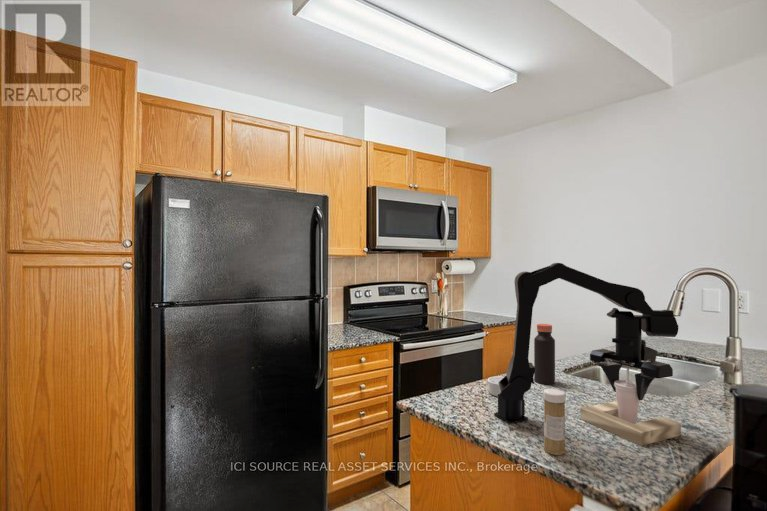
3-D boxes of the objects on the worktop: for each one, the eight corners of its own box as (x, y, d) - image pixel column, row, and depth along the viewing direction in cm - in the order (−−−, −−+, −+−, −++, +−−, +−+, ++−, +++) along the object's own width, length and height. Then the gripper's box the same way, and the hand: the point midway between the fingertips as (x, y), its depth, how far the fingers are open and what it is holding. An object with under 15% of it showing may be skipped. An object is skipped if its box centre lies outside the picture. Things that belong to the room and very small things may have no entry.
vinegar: (557, 385, 138) (557, 326, 138) (536, 384, 139) (536, 326, 139) (552, 379, 144) (552, 323, 144) (532, 378, 145) (532, 323, 146)
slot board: (641, 445, 93) (641, 432, 93) (580, 419, 108) (580, 408, 108) (680, 435, 98) (680, 423, 98) (617, 411, 114) (617, 400, 114)
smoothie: (609, 420, 104) (610, 366, 104) (617, 414, 108) (618, 362, 108) (638, 428, 99) (639, 372, 99) (645, 421, 104) (646, 367, 103)
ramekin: (486, 396, 126) (486, 382, 126) (488, 388, 135) (488, 375, 135) (516, 399, 124) (516, 385, 124) (516, 390, 132) (516, 377, 132)
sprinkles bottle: (548, 444, 93) (548, 386, 94) (568, 451, 90) (568, 391, 90) (540, 451, 90) (540, 391, 90) (561, 458, 87) (561, 396, 87)
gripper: (687, 339, 98) (687, 403, 98) (616, 327, 115) (616, 382, 115) (657, 343, 94) (657, 410, 94) (588, 330, 111) (588, 386, 111)
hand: (628, 396), depth 104 cm, fingers closed on smoothie, 6 cm apart
